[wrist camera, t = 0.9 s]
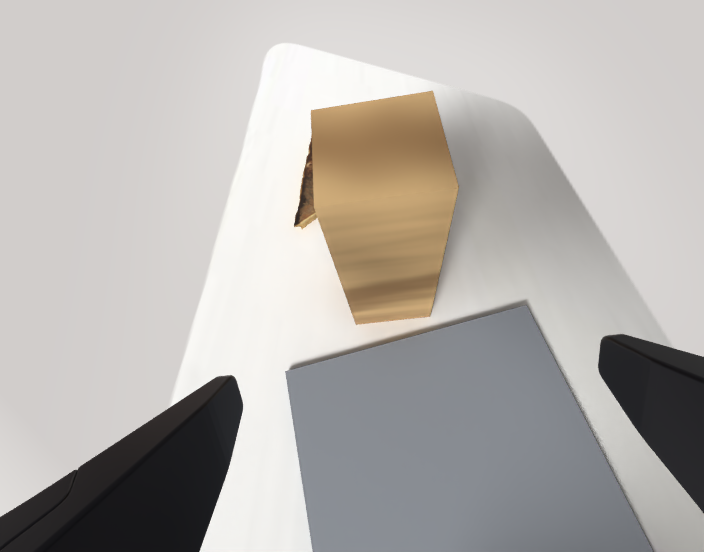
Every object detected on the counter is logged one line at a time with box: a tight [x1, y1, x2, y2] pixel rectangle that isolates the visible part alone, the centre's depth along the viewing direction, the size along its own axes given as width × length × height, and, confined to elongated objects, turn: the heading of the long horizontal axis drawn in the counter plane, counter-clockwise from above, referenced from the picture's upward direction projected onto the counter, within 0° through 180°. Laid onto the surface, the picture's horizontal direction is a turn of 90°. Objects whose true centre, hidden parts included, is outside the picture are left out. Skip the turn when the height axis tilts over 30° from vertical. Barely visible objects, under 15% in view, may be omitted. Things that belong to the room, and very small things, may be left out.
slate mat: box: [285, 305, 653, 552], centre depth 19 cm, size 16×16×1 cm
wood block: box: [311, 91, 459, 325], centre depth 19 cm, size 5×5×13 cm
